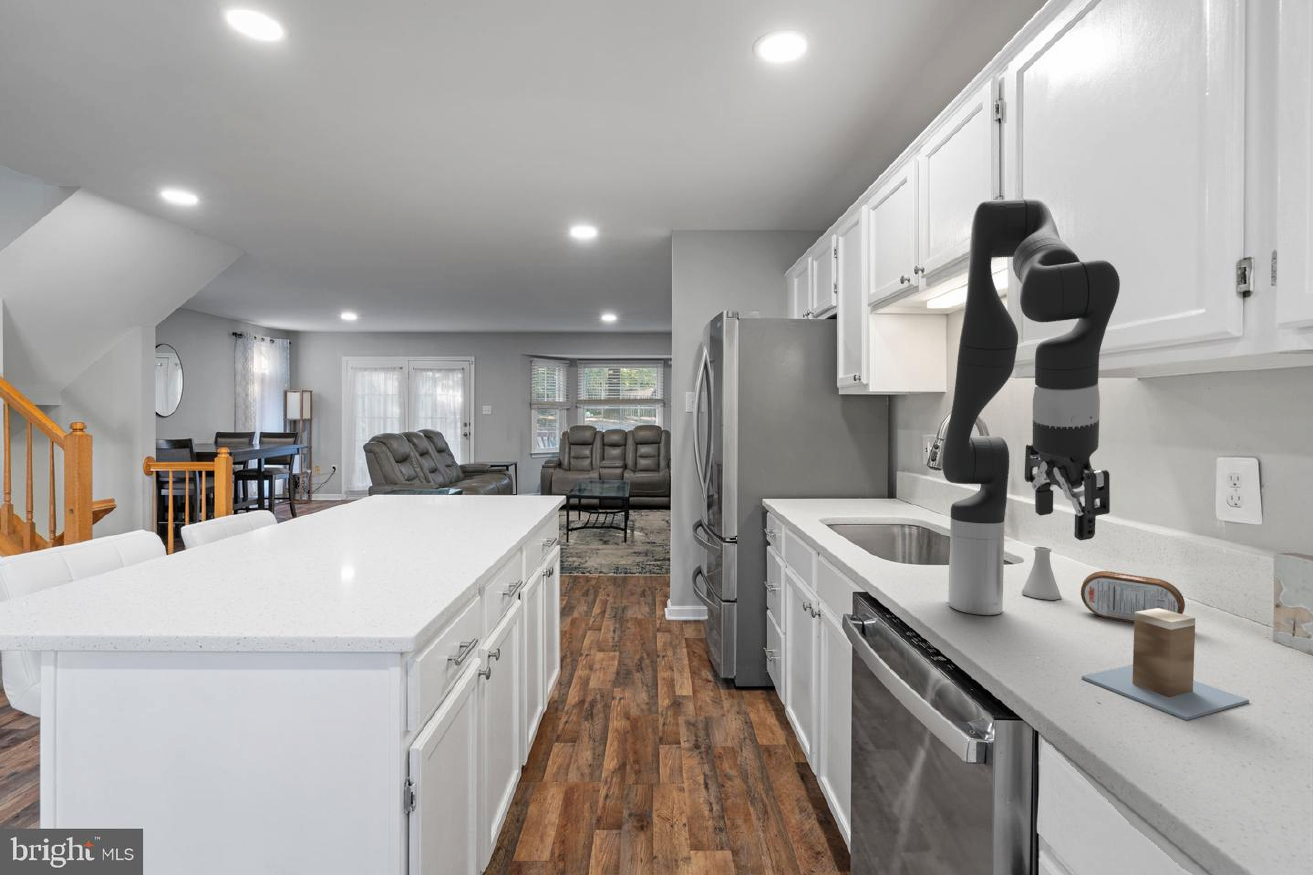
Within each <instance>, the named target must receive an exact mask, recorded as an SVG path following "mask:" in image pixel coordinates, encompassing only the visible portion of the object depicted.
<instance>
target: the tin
mask: <svg viewBox="0 0 1313 875" xmlns="http://www.w3.org/2000/svg"><path fill="white" fill-rule="evenodd" d="M1080 597H1081V600H1082V602H1083V604H1084V606H1085V607H1086V608H1087V609H1088V610H1089V611H1090V612H1092V613H1093V614H1095V615H1096V616H1098V617H1101V618H1106V619H1109V620H1115V621H1122V622H1126V623H1132V624H1134V614H1135V612H1138V611H1144V610H1149V609H1155V608H1160V609H1164V610H1168V611H1172V612H1175V613H1179V614H1183V613H1184V612H1185V608H1186V603H1185V602H1186V601H1185V599H1184V596H1183V594H1182V593H1181V592H1180V590H1179V588H1177V587H1176V586H1175V585H1174V584H1172V583H1170V582H1168V581H1167V580H1164V579H1161V578H1155V577H1148V576H1143V575H1134V574H1128V573H1123V572H1114V571H1107V570H1102V571H1101V570H1099V571H1095V572H1092V573H1091V574H1089V575H1087V576H1086V578H1085V579H1084V580H1083V582H1082V585H1081V589H1080ZM1183 615H1184V614H1183Z"/></svg>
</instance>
